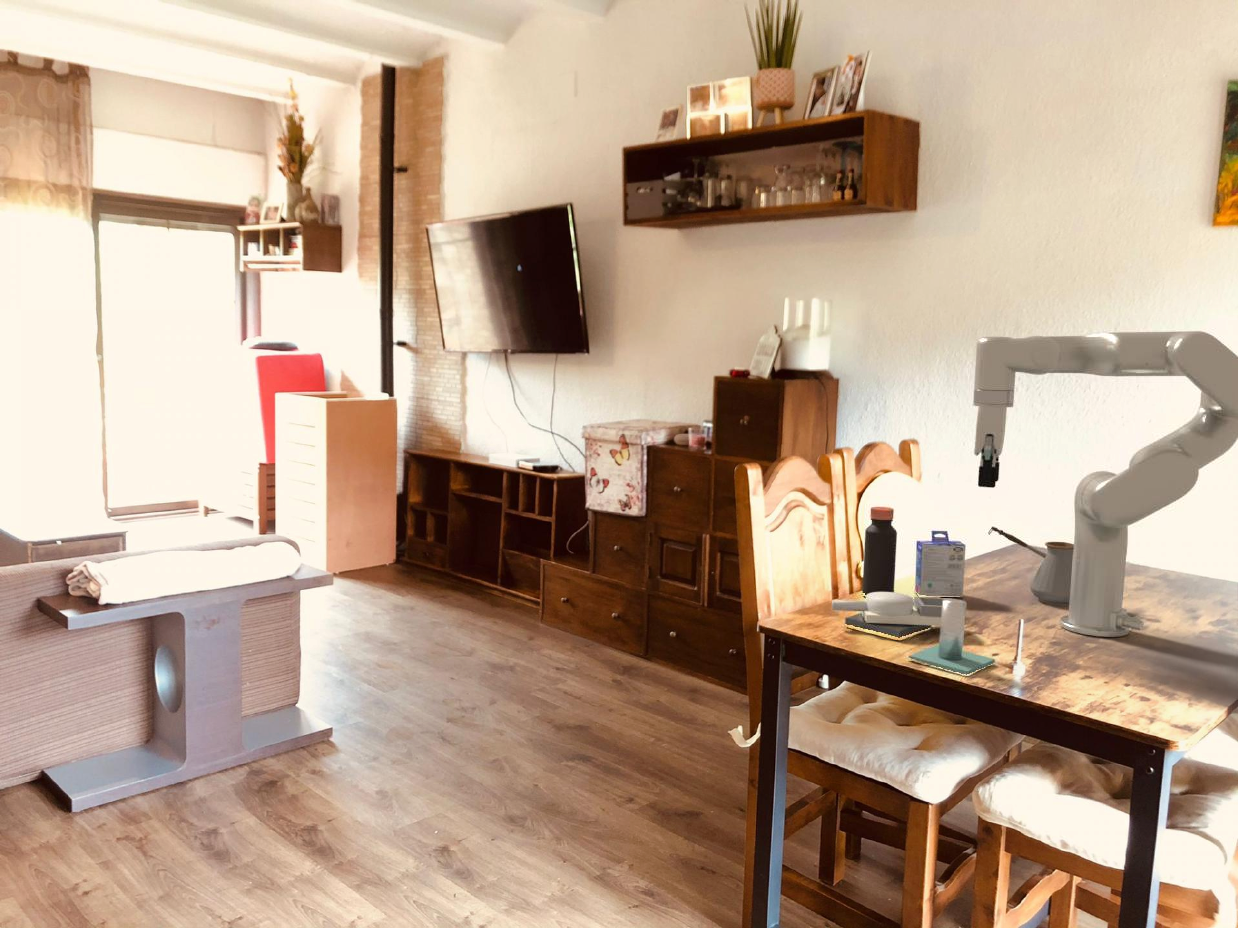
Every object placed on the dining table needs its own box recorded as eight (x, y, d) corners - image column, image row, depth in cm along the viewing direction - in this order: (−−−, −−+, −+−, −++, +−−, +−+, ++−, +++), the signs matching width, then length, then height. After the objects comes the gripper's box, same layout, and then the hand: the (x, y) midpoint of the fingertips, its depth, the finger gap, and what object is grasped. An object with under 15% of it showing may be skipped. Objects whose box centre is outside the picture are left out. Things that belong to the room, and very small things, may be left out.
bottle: (871, 601, 217) (876, 511, 214) (856, 593, 223) (860, 506, 221) (899, 600, 218) (904, 510, 216) (883, 592, 225) (887, 505, 222)
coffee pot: (1090, 600, 221) (1095, 534, 219) (1078, 611, 212) (1083, 542, 210) (992, 585, 233) (996, 522, 232) (977, 594, 224) (981, 529, 222)
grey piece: (965, 657, 176) (970, 601, 175) (955, 661, 173) (960, 605, 172) (944, 651, 179) (948, 597, 178) (934, 655, 176) (938, 600, 175)
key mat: (994, 664, 175) (994, 658, 175) (966, 676, 168) (967, 671, 168) (937, 649, 183) (937, 644, 183) (908, 660, 176) (909, 655, 176)
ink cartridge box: (956, 592, 226) (960, 530, 224) (964, 599, 220) (968, 535, 218) (912, 591, 226) (916, 529, 224) (919, 598, 220) (923, 534, 219)
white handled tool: (834, 621, 193) (835, 601, 192) (829, 608, 202) (830, 589, 201) (959, 626, 190) (960, 606, 190) (948, 613, 199) (950, 594, 199)
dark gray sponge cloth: (931, 629, 196) (931, 619, 196) (898, 641, 188) (899, 631, 188) (878, 616, 205) (878, 607, 204) (844, 627, 197) (845, 617, 196)
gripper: (977, 396, 207) (972, 477, 209) (969, 400, 191) (964, 488, 193) (1015, 397, 204) (1010, 480, 206) (1011, 402, 188) (1005, 491, 190)
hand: (988, 483), depth 200 cm, fingers open, 9 cm apart
